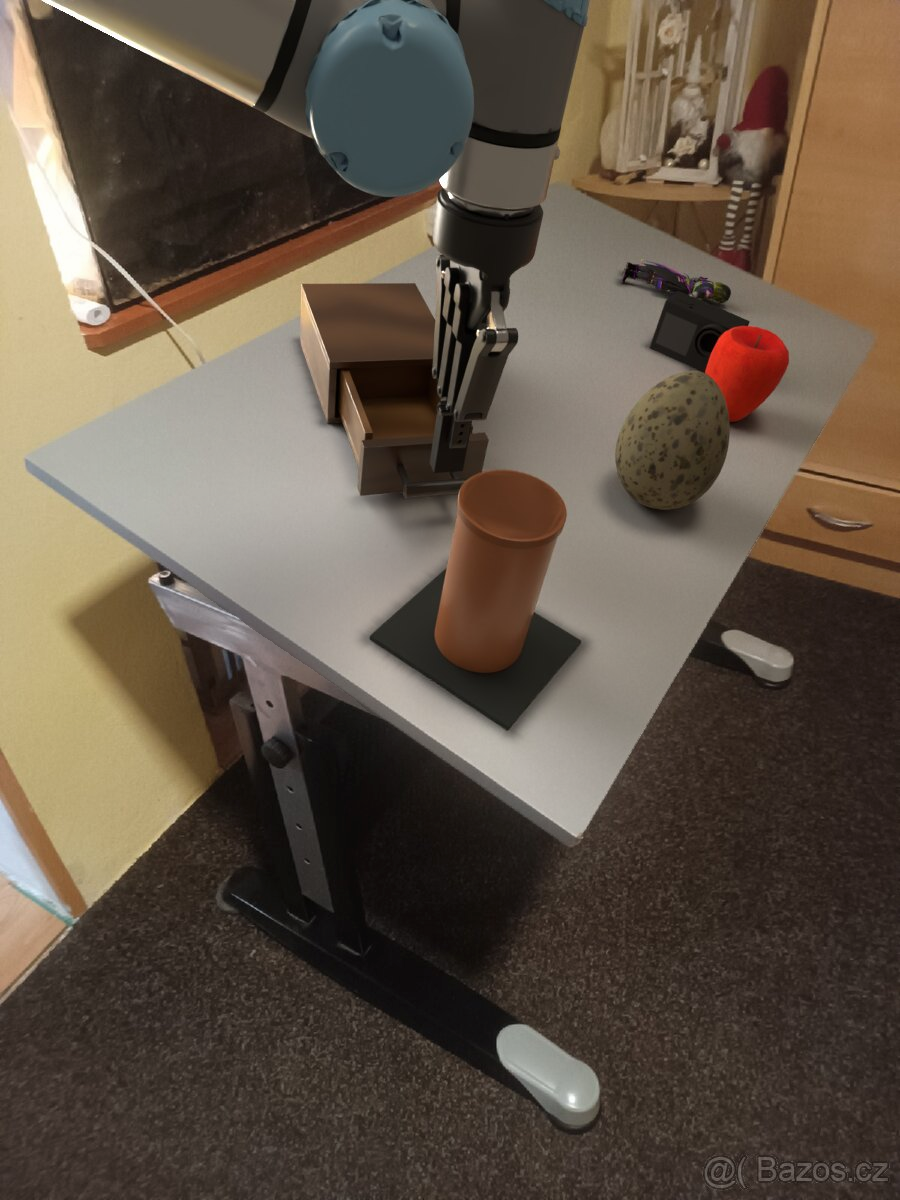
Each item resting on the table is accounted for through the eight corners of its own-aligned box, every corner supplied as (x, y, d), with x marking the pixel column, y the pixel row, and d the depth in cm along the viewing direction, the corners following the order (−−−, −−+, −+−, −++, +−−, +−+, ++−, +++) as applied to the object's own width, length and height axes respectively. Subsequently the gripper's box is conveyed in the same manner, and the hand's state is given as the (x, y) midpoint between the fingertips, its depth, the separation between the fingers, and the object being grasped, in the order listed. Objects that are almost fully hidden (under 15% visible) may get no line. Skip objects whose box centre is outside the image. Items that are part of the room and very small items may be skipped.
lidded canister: (425, 664, 68) (451, 528, 57) (439, 596, 73) (465, 460, 63) (520, 683, 68) (564, 551, 57) (527, 613, 73) (569, 481, 63)
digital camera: (644, 351, 111) (660, 302, 106) (660, 337, 114) (677, 289, 109) (714, 383, 108) (735, 334, 102) (729, 368, 111) (750, 320, 106)
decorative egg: (655, 458, 94) (702, 338, 83) (720, 517, 88) (780, 396, 77) (581, 480, 89) (621, 355, 78) (645, 543, 83) (698, 418, 72)
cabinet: (446, 417, 94) (456, 357, 88) (327, 424, 89) (329, 362, 84) (408, 340, 104) (415, 282, 98) (300, 343, 100) (301, 283, 94)
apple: (758, 443, 99) (798, 363, 91) (687, 423, 100) (720, 342, 92) (759, 406, 105) (797, 328, 97) (692, 387, 106) (724, 308, 98)
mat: (369, 639, 70) (369, 635, 69) (451, 567, 77) (452, 562, 77) (507, 731, 65) (508, 727, 65) (579, 644, 73) (581, 640, 72)
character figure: (616, 294, 122) (723, 320, 120) (622, 269, 120) (732, 295, 117) (626, 270, 129) (729, 294, 126) (632, 246, 126) (737, 270, 123)
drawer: (492, 513, 82) (503, 466, 78) (369, 524, 78) (374, 476, 74) (436, 399, 94) (443, 354, 90) (328, 405, 90) (330, 357, 86)
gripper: (577, 237, 54) (509, 510, 71) (510, 160, 62) (464, 422, 79) (469, 236, 52) (425, 518, 69) (415, 156, 60) (388, 426, 77)
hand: (446, 466), depth 74 cm, fingers closed
